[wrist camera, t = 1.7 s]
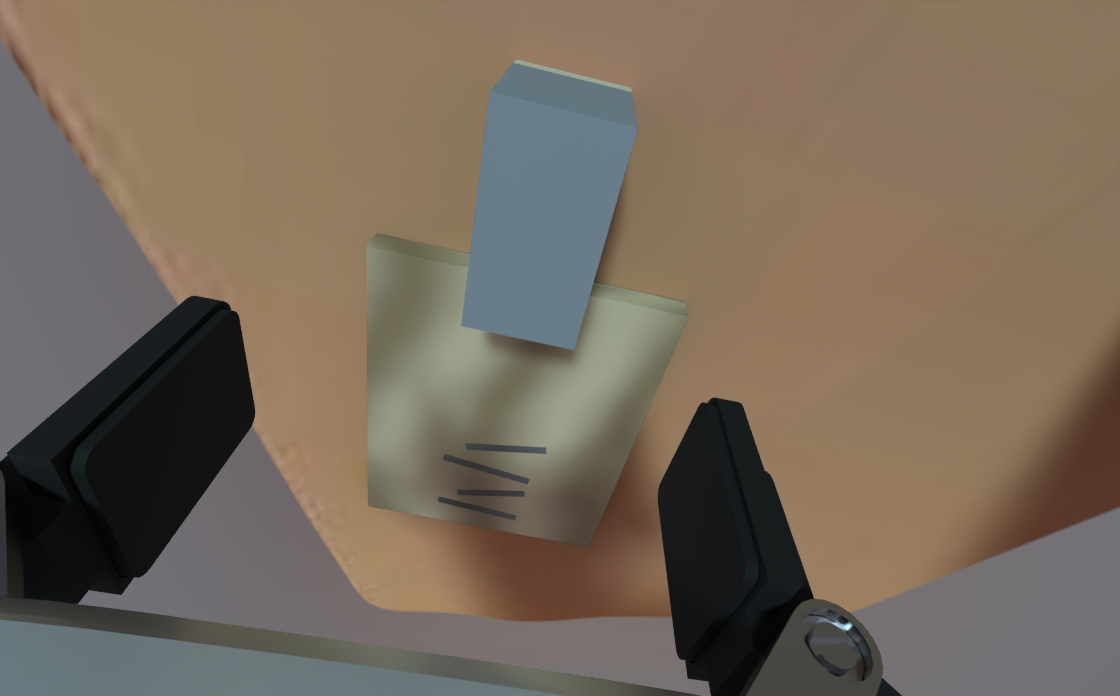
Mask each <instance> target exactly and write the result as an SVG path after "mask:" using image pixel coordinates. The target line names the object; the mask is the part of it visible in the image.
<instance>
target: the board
mask: <svg viewBox="0 0 1120 696" xmlns="http://www.w3.org/2000/svg"><path fill="white" fill-rule="evenodd" d="M469 257H470V254H466V253H461V252H457V251H452V250H448V249H443V248H439V247H434V246H430V245H426V244H421V243H417V242H412V241H408V240H403V239H399V238H394V237H390V236H385V235H381V234H376V235H375V236H374V237H373V238H372V240H371V241H370V242H369V243H368V244H367V401H368V506H371V507H376V508H381V509H387V510H392V511H397V512H403V513H408V514H413V515H419V516H424V517H429V518H435V519H440V520H445V521H451V522H456V523H461V524H467V525H472V526H477V527H483V528H488V529H493V530H499V531H504V532H509V533H514V534H520V535H525V536H530V537H536V538H541V539H546V540H552V541H557V542H562V543H568V544H573V545H578V546H584V547H590V544H591V542H592V540H593V537H594V535H595V533H596V530H597V528H598V526H599V523H600V521H601V519H602V516H603V514H604V512H605V509H606V507H607V505H608V502H609V500H610V498H611V496H612V493H613V491H614V489H615V486H616V484H617V482H618V479H619V477H620V475H621V472H622V470H623V468H624V465H625V463H626V461H627V458H628V456H629V454H630V451H631V449H632V447H633V444H634V442H635V440H636V437H637V435H638V433H639V430H640V428H641V426H642V423H643V421H644V419H645V416H646V414H647V412H648V409H649V407H650V405H651V402H652V400H653V398H654V395H655V393H656V391H657V388H658V386H659V384H660V381H661V379H662V377H663V374H664V372H665V370H666V368H667V365H668V363H669V361H670V358H671V356H672V354H673V351H674V349H675V347H676V344H677V342H678V340H679V337H680V335H681V333H682V330H683V328H684V326H685V323H686V321H687V319H688V313H687V309H686V304H685V302H681V301H677V300H672V299H668V298H663V297H659V296H654V295H650V294H645V293H641V292H636V291H632V290H627V289H623V288H618V287H614V286H609V285H605V284H600V283H596V282H594V283H593V286H592V290H591V293H590V297H589V300H588V304H587V307H586V311H585V314H584V318H583V321H582V325H581V328H580V331H579V335H578V338H577V342H576V345H575V349H574V350H571V349H566V348H562V347H557V346H552V345H548V344H543V343H538V342H533V341H529V340H524V339H519V338H515V337H510V336H505V335H501V334H496V333H491V332H486V331H482V330H477V329H472V328H468V327H463V326H461V323H462V314H463V306H464V298H465V290H466V282H467V273H468V265H469Z"/></svg>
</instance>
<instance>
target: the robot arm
mask: <svg viewBox="0 0 1120 696" xmlns="http://www.w3.org/2000/svg"><path fill="white" fill-rule="evenodd" d="M254 418H255V406H254V400H253V395H252V389H251V383H250V377H249V372H248V366H247V360H246V354H245V349H244V343H243V337H242V331H241V326H240V320H239V316H238V314H237V312H235V311H231V308H230V306H229V304H228V303H226V302H224V301H219V300H214V299H209V298H204V297H199V296H191V297H189V298H187V299H186V300H185V301H183V302H182V303H181V304H180V305H179V306H178V307H176V308H175V309H174V310H173V311H172V312H171V313H170V314H168V315H167V316H166V317H165V318H164V319H162V320H161V321H160V322H159V323H158V324H157V325H155V326H154V327H153V328H152V329H151V330H150V331H148V332H147V333H146V334H145V335H144V336H143V337H141V339H139V340H138V341H137V342H136V343H134V344H133V345H132V346H131V347H130V348H129V349H127V350H126V351H125V352H124V353H123V354H122V355H121V356H119V357H118V358H117V359H116V360H115V361H113V362H112V363H111V364H110V365H109V366H108V367H107V368H105V369H104V370H103V371H102V372H101V373H99V374H98V375H97V376H96V377H95V378H94V379H92V380H91V381H90V382H89V383H88V384H87V385H85V386H84V387H83V388H82V389H81V390H80V391H79V392H77V393H76V394H75V395H74V396H73V397H71V398H70V399H69V400H68V401H67V402H66V403H65V404H63V405H62V406H61V407H60V408H59V409H58V410H56V411H55V412H54V413H53V414H52V415H50V416H49V417H48V418H47V419H46V420H45V421H43V422H42V423H41V424H40V425H39V426H38V427H36V428H35V429H34V430H33V431H32V432H31V433H30V434H29V435H27V436H26V437H25V438H24V439H22V440H21V441H20V442H19V443H18V444H17V445H15V446H14V447H13V448H12V449H11V450H10V451H9V452H7V454H8V455H7V456H6V457H5V458H4V459H3V460H2V461H0V696H698V695H694V694H689V693H682V692H677V691H671V690H665V689H659V688H653V687H648V686H642V685H636V684H629V683H624V682H617V681H612V680H606V679H599V678H593V677H586V676H579V675H573V674H566V673H559V672H553V671H546V670H539V669H533V668H526V667H519V666H513V665H506V664H500V663H493V662H485V661H479V660H473V659H466V658H459V657H453V656H446V655H439V654H432V653H425V652H418V651H411V650H405V649H397V648H391V647H384V646H377V645H370V644H363V643H356V642H350V641H343V640H336V639H329V638H322V637H315V636H308V635H301V634H294V633H286V632H280V631H272V630H266V629H258V628H252V627H244V626H237V625H230V624H223V623H216V622H208V621H201V620H194V619H187V618H180V617H173V616H166V615H159V614H151V613H144V612H136V611H128V610H120V609H112V608H104V607H96V606H87V605H79V604H78V603H79V602H80V600H81V599H82V598H83V597H84V595H85V594H86V593H87V592H88V590H92V591H99V592H106V593H112V594H119V595H121V594H122V593H123V592H124V590H125V589H126V588H127V586H128V585H129V584H130V582H131V581H132V579H133V578H134V577H138V578H139V577H141V576H143V575H144V574H145V573H146V572H147V571H148V570H149V569H150V568H151V566H152V565H153V563H154V562H155V560H156V559H157V558H158V556H159V555H160V554H161V552H162V551H163V550H164V548H165V547H166V545H167V544H168V543H169V541H170V540H171V538H172V537H173V535H174V534H175V533H176V531H177V530H178V528H179V527H180V525H181V524H182V523H183V521H184V520H185V519H186V517H187V516H188V515H189V513H190V512H191V510H192V509H193V508H194V506H195V505H196V503H197V502H198V500H199V499H200V498H201V496H202V495H203V494H204V492H205V491H206V489H207V488H208V487H209V485H210V484H211V482H212V481H213V480H214V478H215V477H216V475H217V474H218V473H219V471H220V470H221V468H222V467H223V466H224V464H225V463H226V462H227V460H228V459H229V457H230V456H231V455H232V453H233V452H234V450H235V449H236V448H237V446H238V444H239V443H240V442H241V441H242V439H243V438H244V436H245V435H246V433H247V432H248V431H249V429H250V428H251V426H252V424H253V421H254ZM658 506H659V514H660V522H661V530H662V539H663V547H664V555H665V563H666V571H667V579H668V588H669V596H670V604H671V612H672V620H673V628H674V636H675V645H676V651H677V655H678V657H679V658H680V659H682V660H685V662H686V669H687V677H688V679H695V680H702V681H709V687H710V693H711V696H902V695H900V694H899V693H898V692H897V691H896V690H895V689H894V688H893V687H892V686H890V685H889V684H888V683H887V682H886V681H885V680H884V679H883V678H882V673H883V664H882V659H881V655H880V652H879V650H878V648H877V645H876V643H875V642H874V639H873V638H872V636H871V635H870V634H869V632H868V631H867V630H866V629H865V627H864V626H863V624H862V623H860V622H859V621H858V620H857V619H856V618H855V617H854V616H853V615H852V614H851V613H849V612H848V611H846V610H845V609H843V608H842V607H840V606H839V605H837V604H834V603H831V602H829V601H826V600H821V599H814V597H813V594H812V591H811V588H810V585H809V583H808V580H807V577H806V574H805V571H804V568H803V565H802V562H801V559H800V557H799V554H798V551H797V548H796V545H795V542H794V539H793V536H792V533H791V531H790V528H789V525H788V522H787V519H786V516H785V513H784V510H783V507H782V504H781V502H780V499H779V496H778V493H777V490H776V487H775V484H774V481H773V479H772V477H771V475H770V474H769V473H767V472H766V471H764V468H763V465H762V462H761V459H760V456H759V453H758V450H757V447H756V444H755V441H754V438H753V435H752V432H751V429H750V426H749V423H748V420H747V417H746V414H745V411H744V408H743V406H742V404H741V403H739V402H735V401H730V400H725V399H719V398H712V399H710V400H709V402H708V403H701V404H700V405H699V407H698V409H697V411H696V413H695V415H694V417H693V419H692V421H691V423H690V425H689V427H688V429H687V431H686V433H685V435H684V437H683V439H682V441H681V443H680V445H679V447H678V449H677V451H676V453H675V455H674V457H673V459H672V461H671V463H670V465H669V467H668V469H667V471H666V473H665V475H664V477H663V479H662V481H661V483H660V486H659V490H658Z"/></svg>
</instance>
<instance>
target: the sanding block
mask: <svg viewBox="0 0 1120 696" xmlns="http://www.w3.org/2000/svg"><path fill="white" fill-rule="evenodd" d="M637 129H638V125H637V119H636V114H635V108H634V102H633V97H632V91H631V88H629V87H625V86H621V85H617V84H613V83H609V82H605V81H601V80H597V79H593V78H589V77H585V76H581V75H577V74H573V73H569V72H565V71H561V70H557V69H553V68H549V67H544V66H540V65H536V64H532V63H528V62H524V61H520V60H515V62H514V63H513V64H512V65H511V67H510V68H509V69H508V70H507V71H506V73H505V74H504V75H503V76H502V77H501V79H500V80H499V81H498V82H497V83H496V85H495V86H494V87H493V88H492V89H491V91H490V94H489V102H488V110H487V118H486V126H485V134H484V143H483V151H482V159H481V167H480V175H479V184H478V192H477V200H476V208H475V216H474V224H473V233H472V241H471V249H470V257H469V265H468V273H467V282H466V290H465V298H464V306H463V314H462V323H461V326H463V327H468V328H472V329H477V330H482V331H486V332H491V333H496V334H501V335H505V336H510V337H515V338H519V339H524V340H529V341H533V342H538V343H543V344H548V345H552V346H557V347H562V348H566V349H571V350H574V349H575V345H576V342H577V338H578V335H579V331H580V328H581V325H582V321H583V318H584V314H585V311H586V307H587V304H588V300H589V297H590V293H591V290H592V286H593V283H594V279H595V276H596V272H597V269H598V265H599V262H600V258H601V255H602V251H603V248H604V244H605V241H606V237H607V234H608V230H609V227H610V223H611V220H612V216H613V213H614V210H615V206H616V203H617V199H618V196H619V192H620V189H621V185H622V182H623V178H624V175H625V171H626V168H627V164H628V161H629V157H630V154H631V150H632V147H633V143H634V140H635V136H636V133H637Z"/></svg>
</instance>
